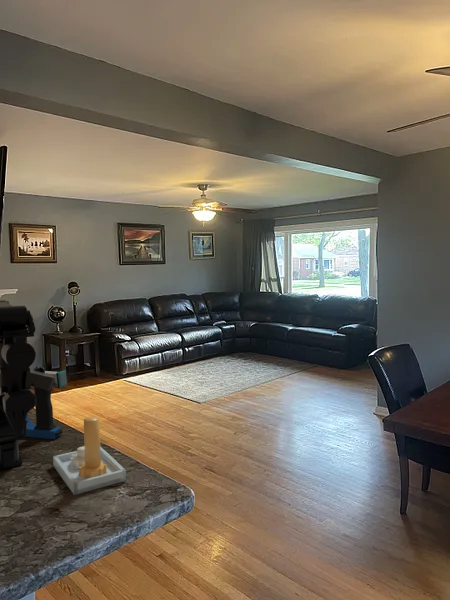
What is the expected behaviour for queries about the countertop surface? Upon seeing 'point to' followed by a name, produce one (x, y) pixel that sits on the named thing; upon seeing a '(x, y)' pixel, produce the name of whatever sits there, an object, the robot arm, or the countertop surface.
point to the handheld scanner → (45, 410)
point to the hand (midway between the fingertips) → (15, 429)
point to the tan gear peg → (92, 450)
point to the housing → (69, 472)
